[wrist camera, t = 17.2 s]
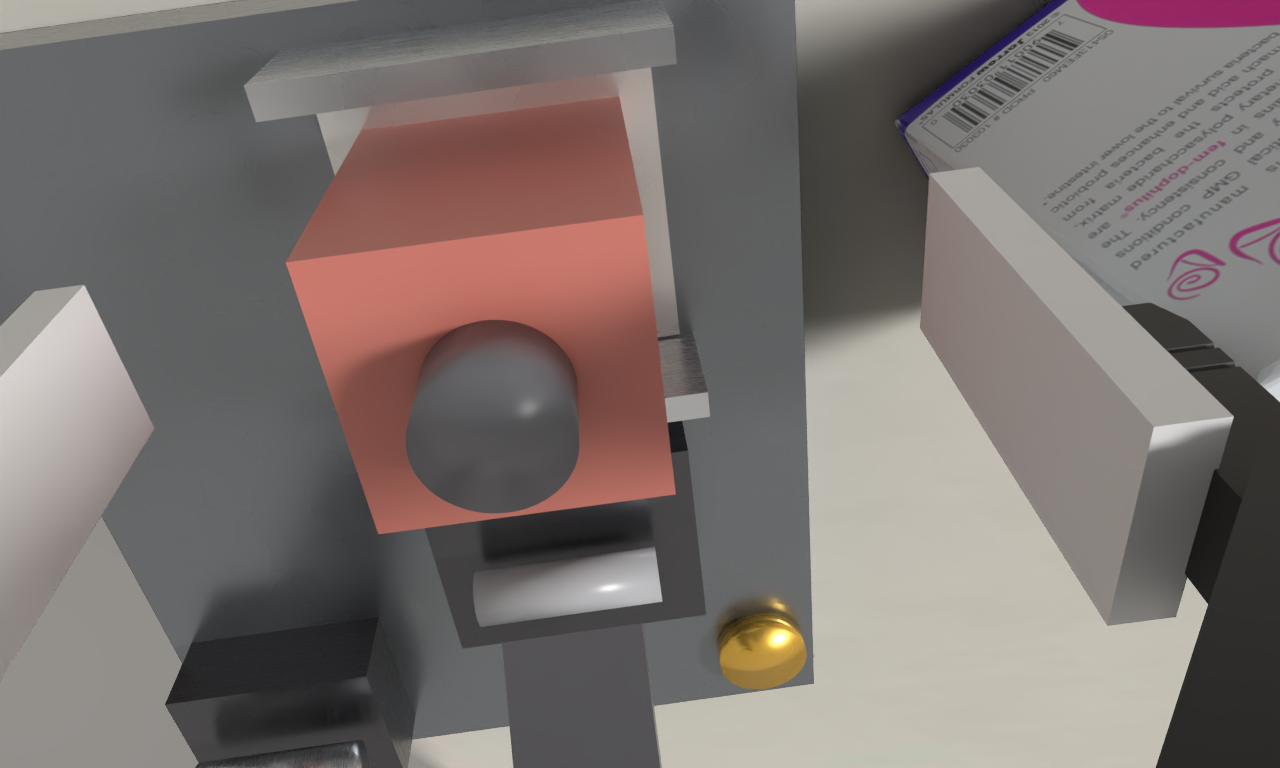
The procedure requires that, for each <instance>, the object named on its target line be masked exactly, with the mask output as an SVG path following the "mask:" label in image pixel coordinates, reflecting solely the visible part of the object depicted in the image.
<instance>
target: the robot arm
mask: <svg viewBox="0 0 1280 768" xmlns="http://www.w3.org/2000/svg"><path fill="white" fill-rule="evenodd" d="M920 329H921V330H922V332H923V333H924V335H925V337H926V338H927V340H928V341H929V343H930V344H931V346H932V348H933V349H934V351H935V352H936V354H937V356H938V357H939V359H940V360H941V362H942V364H943V365H944V367H945V368H946V370H947V372H948V373H949V375H950V376H951V378H952V379H953V381H954V383H955V384H956V386H957V387H958V389H959V391H960V392H961V394H962V395H963V397H964V399H965V400H966V402H967V403H968V405H969V406H970V408H971V410H972V411H973V413H974V414H975V416H976V418H977V419H978V421H979V422H980V424H981V426H982V427H983V429H984V430H985V432H986V434H987V435H988V437H989V438H990V440H991V441H992V443H993V445H994V446H995V448H996V449H997V451H998V453H999V454H1000V456H1001V457H1002V459H1003V461H1004V462H1005V464H1006V465H1007V467H1008V468H1009V470H1010V472H1011V473H1012V475H1013V476H1014V478H1015V480H1016V481H1017V483H1018V484H1019V486H1020V488H1021V489H1022V491H1023V492H1024V494H1025V496H1026V497H1027V499H1028V500H1029V502H1030V503H1031V505H1032V507H1033V508H1034V510H1035V511H1036V513H1037V515H1038V516H1039V518H1040V519H1041V521H1042V523H1043V524H1044V526H1045V527H1046V529H1047V530H1048V532H1049V534H1050V535H1051V537H1052V538H1053V540H1054V542H1055V543H1056V545H1057V546H1058V548H1059V550H1060V551H1061V553H1062V554H1063V556H1064V558H1065V559H1066V561H1067V562H1068V564H1069V565H1070V567H1071V569H1072V570H1073V572H1074V573H1075V575H1076V577H1077V578H1078V580H1079V581H1080V583H1081V585H1082V586H1083V588H1084V589H1085V591H1086V592H1087V594H1088V596H1089V597H1090V599H1091V600H1092V602H1093V604H1094V605H1095V607H1096V608H1097V610H1098V612H1099V613H1100V615H1101V616H1102V618H1103V620H1104V621H1105V623H1106V624H1107V626H1109V625H1116V624H1124V623H1132V622H1140V621H1147V620H1155V619H1163V618H1170V617H1176V614H1177V611H1178V608H1179V604H1180V601H1181V597H1182V594H1183V590H1184V587H1185V583H1186V580H1187V577H1188V578H1189V580H1190V581H1191V582H1192V584H1193V585H1194V586H1195V588H1196V589H1197V590H1198V591H1199V593H1200V594H1201V595H1202V597H1203V598H1204V599H1205V601H1206V602H1207V603H1208V607H1207V610H1206V613H1205V616H1204V620H1203V623H1202V626H1201V629H1200V632H1199V635H1198V638H1197V641H1196V644H1195V648H1194V651H1193V654H1192V657H1191V660H1190V663H1189V666H1188V669H1187V672H1186V676H1185V679H1184V682H1183V685H1182V688H1181V691H1180V694H1179V697H1178V700H1177V703H1176V707H1175V710H1174V713H1173V716H1172V719H1171V722H1170V725H1169V728H1168V731H1167V735H1166V738H1165V741H1164V744H1163V747H1162V750H1161V753H1160V756H1159V759H1158V763H1157V766H1156V768H1280V402H1279V401H1278V400H1277V399H1276V398H1275V397H1274V396H1273V395H1272V394H1270V393H1269V392H1268V391H1267V390H1266V389H1265V388H1264V387H1263V386H1261V385H1260V384H1259V383H1258V382H1257V381H1256V380H1255V379H1254V378H1253V377H1251V376H1250V375H1249V374H1248V373H1247V372H1246V371H1245V370H1244V369H1243V368H1241V367H1240V366H1238V367H1236V366H1235V361H1234V360H1232V359H1231V358H1230V357H1229V356H1228V355H1227V354H1226V353H1225V352H1224V351H1222V350H1221V349H1220V348H1219V347H1218V348H1215V347H1214V342H1212V341H1211V340H1210V339H1209V338H1208V337H1207V336H1206V335H1205V334H1203V333H1202V332H1201V331H1200V330H1199V329H1198V328H1197V327H1196V326H1195V325H1193V324H1192V323H1191V322H1190V321H1189V320H1187V319H1185V318H1183V317H1181V316H1179V315H1176V314H1174V313H1172V312H1170V311H1168V310H1166V309H1164V308H1161V307H1159V306H1157V305H1155V304H1153V303H1151V302H1150V303H1142V304H1135V305H1127V306H1121V305H1120V304H1118V303H1117V302H1116V301H1115V300H1114V299H1113V298H1112V297H1111V296H1110V295H1109V294H1108V293H1107V292H1106V291H1105V290H1104V289H1103V288H1102V287H1101V286H1100V285H1099V284H1098V283H1097V282H1096V281H1095V280H1094V279H1093V278H1092V277H1091V276H1090V275H1089V274H1088V273H1087V272H1086V271H1085V270H1084V269H1083V268H1082V267H1081V266H1080V265H1079V264H1078V263H1077V262H1076V261H1075V260H1074V259H1073V258H1072V257H1070V256H1069V255H1068V254H1067V253H1066V252H1065V251H1064V250H1063V249H1062V248H1061V247H1060V246H1059V245H1058V244H1057V243H1056V242H1055V241H1054V240H1053V239H1052V238H1051V237H1050V236H1049V235H1048V234H1047V233H1046V232H1045V231H1044V230H1043V229H1042V228H1041V227H1040V226H1039V225H1038V224H1037V223H1036V222H1035V221H1034V220H1033V219H1032V218H1031V217H1030V216H1029V215H1028V214H1027V213H1026V212H1025V211H1024V210H1022V209H1021V208H1020V207H1019V206H1018V205H1017V204H1016V203H1015V202H1014V201H1013V200H1012V199H1011V198H1010V197H1009V196H1008V195H1007V194H1006V193H1005V192H1004V191H1003V190H1002V189H1001V188H1000V187H999V186H998V185H997V184H996V183H995V182H994V181H993V180H992V179H991V178H990V177H989V176H988V175H987V174H986V173H985V172H984V171H983V170H982V169H981V168H980V167H975V168H968V169H960V170H952V171H945V172H937V173H930V174H929V190H928V206H927V223H926V239H925V256H924V272H923V289H922V305H921V322H920ZM153 430H154V426H153V424H152V422H151V420H150V418H149V416H148V414H147V412H146V410H145V408H144V406H143V404H142V402H141V400H140V398H139V396H138V394H137V392H136V389H135V387H134V385H133V383H132V381H131V379H130V377H129V375H128V373H127V371H126V369H125V367H124V365H123V363H122V361H121V359H120V357H119V355H118V353H117V351H116V349H115V347H114V345H113V342H112V340H111V338H110V336H109V334H108V332H107V330H106V328H105V326H104V324H103V322H102V320H101V318H100V316H99V314H98V312H97V310H96V308H95V306H94V304H93V302H92V300H91V298H90V295H89V293H88V291H87V289H86V287H85V285H78V286H70V287H63V288H55V289H48V290H40V291H35V292H34V293H33V294H32V295H31V296H30V297H29V298H28V299H27V300H26V301H25V302H24V303H23V304H22V305H21V306H20V307H19V308H18V309H17V310H16V311H15V312H14V313H13V314H12V315H11V316H10V317H9V318H8V319H7V320H6V321H5V322H4V323H3V324H2V325H1V326H0V681H1V680H2V678H3V676H4V675H5V673H6V671H7V670H8V668H9V666H10V665H11V663H12V661H13V660H14V658H15V656H16V655H17V653H18V652H19V650H20V648H21V647H22V645H23V643H24V642H25V640H26V638H27V637H28V635H29V634H30V632H31V630H32V629H33V627H34V625H35V624H36V622H37V620H38V619H39V617H40V615H41V614H42V612H43V611H44V609H45V607H46V606H47V604H48V602H49V601H50V599H51V597H52V596H53V594H54V592H55V591H56V589H57V587H58V586H59V584H60V583H61V581H62V579H63V577H64V576H65V574H66V573H67V571H68V569H69V568H70V566H71V565H72V563H73V561H74V560H75V558H76V556H77V555H78V553H79V551H80V550H81V548H82V546H83V545H84V543H85V542H86V540H87V538H88V536H89V535H90V533H91V532H92V530H93V528H94V527H95V525H96V523H97V522H98V520H99V519H100V517H101V515H102V514H103V512H104V510H105V509H106V507H107V505H108V504H109V502H110V500H111V499H112V497H113V495H114V494H115V492H116V491H117V489H118V487H119V486H120V484H121V482H122V481H123V479H124V477H125V476H126V474H127V472H128V471H129V469H130V468H131V466H132V464H133V463H134V461H135V459H136V458H137V456H138V454H139V453H140V451H141V449H142V448H143V446H144V445H145V443H146V441H147V440H148V438H149V436H150V435H151V433H152V431H153Z"/></svg>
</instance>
